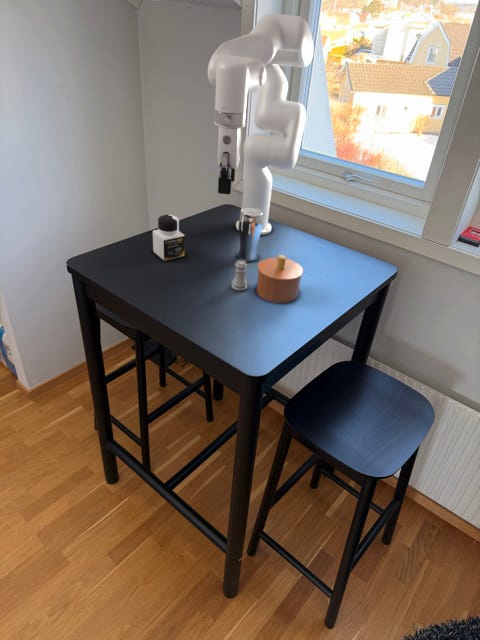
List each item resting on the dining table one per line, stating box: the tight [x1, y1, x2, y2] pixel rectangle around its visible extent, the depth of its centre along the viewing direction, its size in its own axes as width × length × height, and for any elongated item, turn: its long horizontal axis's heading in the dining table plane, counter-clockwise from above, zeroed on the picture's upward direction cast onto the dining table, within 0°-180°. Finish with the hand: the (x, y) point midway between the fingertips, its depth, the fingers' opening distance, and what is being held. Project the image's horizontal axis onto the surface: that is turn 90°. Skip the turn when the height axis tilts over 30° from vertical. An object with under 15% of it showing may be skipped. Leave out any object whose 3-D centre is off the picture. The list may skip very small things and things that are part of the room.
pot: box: [256, 271, 302, 304], centre depth 128 cm, size 11×11×7 cm
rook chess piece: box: [230, 259, 248, 292], centre depth 128 cm, size 4×4×8 cm
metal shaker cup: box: [237, 207, 263, 263], centre depth 142 cm, size 7×7×15 cm
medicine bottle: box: [152, 214, 186, 262], centre depth 140 cm, size 7×7×12 cm
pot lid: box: [257, 254, 304, 281], centre depth 125 cm, size 12×12×4 cm
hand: (226, 186), depth 124 cm, fingers open, 9 cm apart
